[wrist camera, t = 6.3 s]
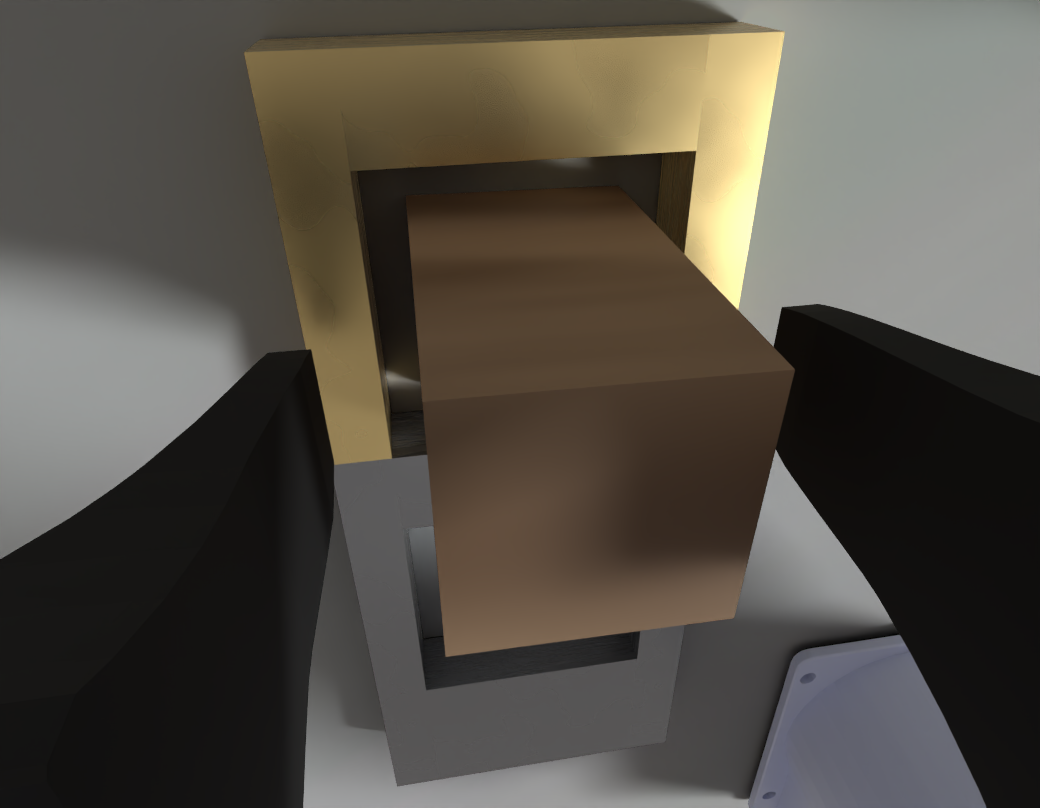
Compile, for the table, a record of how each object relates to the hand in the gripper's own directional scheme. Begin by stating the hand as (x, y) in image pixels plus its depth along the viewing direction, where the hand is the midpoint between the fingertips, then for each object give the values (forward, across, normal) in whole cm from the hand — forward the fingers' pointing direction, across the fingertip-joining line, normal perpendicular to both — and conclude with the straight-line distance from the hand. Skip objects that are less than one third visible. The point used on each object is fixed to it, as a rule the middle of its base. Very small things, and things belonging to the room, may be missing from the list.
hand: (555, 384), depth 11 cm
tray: (+4, 0, +5) cm, 6 cm away
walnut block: (+4, 0, 0) cm, 4 cm away
